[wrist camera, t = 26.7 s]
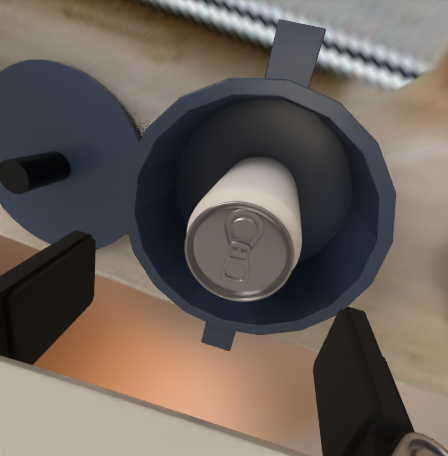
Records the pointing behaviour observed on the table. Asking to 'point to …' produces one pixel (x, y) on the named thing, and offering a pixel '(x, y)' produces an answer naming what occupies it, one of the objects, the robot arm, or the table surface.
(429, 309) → the table surface
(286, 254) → the can
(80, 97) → the lid
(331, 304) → the pot
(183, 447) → the robot arm
